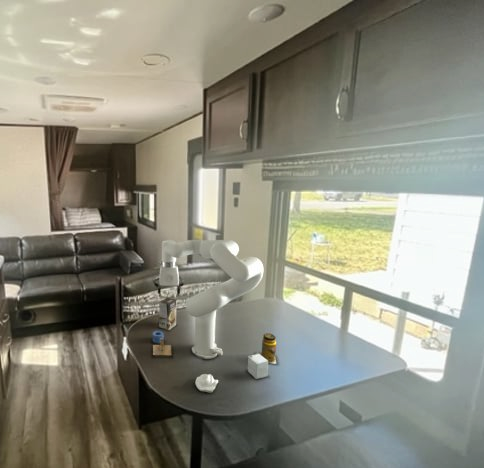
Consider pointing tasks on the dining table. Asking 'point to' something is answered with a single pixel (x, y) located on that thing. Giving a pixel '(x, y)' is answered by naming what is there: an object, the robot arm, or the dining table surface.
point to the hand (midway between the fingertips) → (168, 294)
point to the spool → (157, 336)
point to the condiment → (269, 348)
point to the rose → (206, 383)
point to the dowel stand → (161, 348)
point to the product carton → (257, 366)
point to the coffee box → (167, 313)
